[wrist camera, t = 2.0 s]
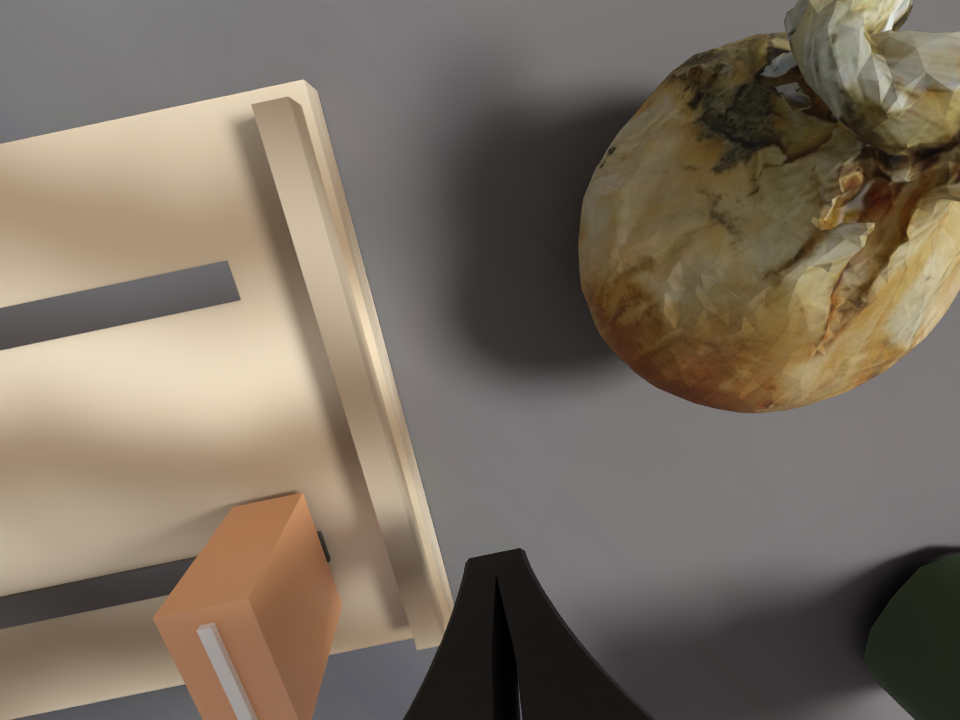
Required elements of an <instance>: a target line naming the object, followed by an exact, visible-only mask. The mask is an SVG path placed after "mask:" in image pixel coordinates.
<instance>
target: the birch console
mask: <svg viewBox="0 0 960 720" xmlns="http://www.w3.org/2000/svg"><path fill="white" fill-rule="evenodd" d="M298 493H303V494H304V497H305V500H306V503H307V506H308V509H309V511H310V514H311V517H312V520H313V523H314V526H315V529H316V531H317V534H318V537H319V540H320V543H321V546H322V549H323V551H324V554H325V557H326V560H327V563H328V566H329V569H330V571H331V574H332V577H333V580H334V583H335V586H336V589H337V591H338V594H339V597H340V600H341V603H342V610H341V613H340V617H339V621H338V624H337V628H336V632H335V635H334V639H333V643H332V646H331V650H330V654H329V655H331V654H336V653H341V652H346V651H351V650H356V649H361V648H366V647H371V646H375V645H380V644H385V643H390V642H395V641H400V640H405V639H410V638H414V641H415V645H416V648H417V650H420V649H425V648H430V647H435V646H439V645H440V643H441V640H442V638H443V636H444V632H445V630H446V628H447V625H448V622H449V619H450V616H451V614H452V611H453V598H452V594H451V591H450V587H449V583H448V579H447V576H446V572H445V568H444V564H443V561H442V557H441V553H440V549H439V546H438V542H437V538H436V534H435V531H434V527H433V523H432V519H431V516H430V512H429V508H428V504H427V501H426V497H425V493H424V489H423V486H422V482H421V478H420V474H419V471H418V467H417V463H416V459H415V456H414V452H413V448H412V445H411V441H410V437H409V433H408V430H407V426H406V422H405V418H404V415H403V411H402V407H401V403H400V400H399V396H398V392H397V388H396V385H395V381H394V377H393V373H392V370H391V366H390V362H389V358H388V355H387V351H386V347H385V343H384V340H383V336H382V332H381V328H380V325H379V321H378V317H377V313H376V310H375V306H374V302H373V298H372V295H371V291H370V287H369V283H368V280H367V276H366V272H365V268H364V265H363V261H362V257H361V253H360V250H359V246H358V242H357V238H356V235H355V231H354V227H353V223H352V220H351V216H350V212H349V209H348V205H347V201H346V197H345V194H344V190H343V186H342V182H341V179H340V175H339V171H338V167H337V164H336V160H335V156H334V152H333V149H332V145H331V141H330V137H329V134H328V130H327V126H326V122H325V119H324V115H323V111H322V107H321V104H320V100H319V96H318V92H317V90H315V89H314V88H313V87H312V86H311V85H310V84H308V83H307V82H306V81H305V80H299V81H294V82H290V83H285V84H280V85H276V86H271V87H266V88H261V89H257V90H252V91H247V92H243V93H238V94H233V95H229V96H224V97H219V98H214V99H210V100H205V101H200V102H196V103H191V104H186V105H182V106H177V107H172V108H167V109H163V110H158V111H153V112H149V113H144V114H139V115H135V116H130V117H125V118H121V119H116V120H111V121H106V122H102V123H97V124H92V125H88V126H83V127H78V128H74V129H69V130H64V131H59V132H55V133H50V134H45V135H41V136H36V137H31V138H27V139H22V140H17V141H12V142H8V143H3V144H0V720H11V719H16V718H21V717H25V716H30V715H35V714H40V713H45V712H50V711H55V710H60V709H65V708H70V707H75V706H80V705H85V704H90V703H94V702H99V701H104V700H109V699H114V698H119V697H124V696H129V695H134V694H139V693H144V692H149V691H154V690H159V689H163V688H168V687H173V686H178V685H183V684H185V683H184V681H183V679H182V677H181V675H180V673H179V671H178V669H177V667H176V665H175V663H174V661H173V659H172V657H171V655H170V653H169V650H168V648H167V646H166V644H165V642H164V640H163V638H162V636H161V634H160V632H159V630H158V628H157V626H156V624H155V622H154V620H153V617H154V615H155V614H156V613H157V611H158V610H159V608H160V607H161V606H162V604H163V603H164V602H165V600H166V599H167V597H168V596H169V595H170V593H171V592H172V590H173V589H174V588H175V586H176V585H177V584H178V582H179V581H180V579H181V578H182V577H183V575H184V574H185V573H186V571H187V570H188V568H189V567H190V566H191V564H192V563H193V562H194V560H195V559H196V557H197V556H198V555H199V553H200V552H201V550H202V549H203V548H204V546H205V545H206V544H207V542H208V541H209V539H210V538H211V537H212V535H213V534H214V533H215V531H216V530H217V528H218V527H219V526H220V524H221V523H222V522H223V520H224V519H225V517H226V516H227V515H228V513H229V512H230V511H231V509H232V508H233V507H235V506H240V505H245V504H250V503H255V502H259V501H264V500H269V499H274V498H279V497H284V496H289V495H294V494H298Z"/></svg>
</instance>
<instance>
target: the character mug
mask: <svg viewBox="0 0 960 720" xmlns="http://www.w3.org/2000/svg"><path fill="white" fill-rule="evenodd" d="M864 660H865V662H866V664H867V666H868V668H869V670H870V673H871V675H872V677H873V679H874V680H875V681H876V682H877V683H878V684H879V685H880V686H881V687H882V688H883V689H884V690H885V691H886V692H887V693H888V694H889V695H890V696H891V697H892V698H893V699H894V700H895V701H896V702H897V703H898V704H899V705H900V706H901V707H902V708H903V709H905V710H906V711H907V712H908V713H909V714H910V715H911V716H912V717H913V718H914V719H915V720H960V553H958V554H955V555H953V556H950V557H947V558H944V559H941V560H938V561H935V562H933V563H930V564H927V565H924V566H921V567H920V568H919V569H918V570H917V571H916V572H915V573H914V574H913V575H912V576H911V577H910V578H909V580H908V581H907V582H906V583H905V584H904V585H903V586H902V587H901V588H900V589H899V590H898V591H897V593H896V594H895V595H894V596H893V597H892V598H891V599H890V601H889V602H888V604H887V605H886V607H885V608H884V610H883V611H882V613H881V614H880V616H879V617H878V619H877V620H876V622H875V623H874V625H873V626H872V628H871V629H870V633H869V637H868V641H867V645H866V650H865V654H864Z"/></svg>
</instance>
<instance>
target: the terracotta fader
mask: <svg viewBox="0 0 960 720" xmlns="http://www.w3.org/2000/svg"><path fill="white" fill-rule="evenodd" d="M341 610H342V603H341V600H340V597H339V594H338V591H337V589H336V586H335V583H334V580H333V577H332V574H331V571H330V569H329V566H328V563H327V560H326V557H325V554H324V551H323V549H322V546H321V543H320V540H319V537H318V534H317V531H316V529H315V526H314V523H313V520H312V517H311V514H310V511H309V509H308V506H307V503H306V500H305V497H304V494H303V493H298V494H294V495H289V496H284V497H279V498H274V499H269V500H264V501H259V502H255V503H250V504H245V505H240V506H235V507H233V508H232V509H231V511H230V512H229V513H228V515H227V516H226V517H225V519H224V520H223V522H222V523H221V524H220V526H219V527H218V528H217V530H216V531H215V533H214V534H213V535H212V537H211V538H210V539H209V541H208V542H207V544H206V545H205V546H204V548H203V549H202V550H201V552H200V553H199V555H198V556H197V557H196V559H195V560H194V562H193V563H192V564H191V566H190V567H189V568H188V570H187V571H186V573H185V574H184V575H183V577H182V578H181V579H180V581H179V582H178V584H177V585H176V586H175V588H174V589H173V590H172V592H171V593H170V595H169V596H168V597H167V599H166V600H165V602H164V603H163V604H162V606H161V607H160V608H159V610H158V611H157V613H156V614H155V615H154V617H153V620H154V622H155V624H156V626H157V628H158V630H159V632H160V634H161V636H162V638H163V640H164V642H165V644H166V646H167V648H168V650H169V653H170V655H171V657H172V659H173V661H174V663H175V665H176V667H177V669H178V671H179V673H180V675H181V677H182V679H183V681H184V683H185V685H186V687H187V689H188V691H189V693H190V695H191V697H192V699H193V701H194V703H195V705H196V707H197V709H198V711H199V713H200V715H201V717H202V719H203V720H311V719H312V716H313V712H314V708H315V705H316V701H317V697H318V694H319V690H320V686H321V683H322V679H323V675H324V672H325V668H326V665H327V661H328V657H329V654H330V650H331V646H332V643H333V639H334V635H335V632H336V628H337V624H338V621H339V617H340V613H341Z"/></svg>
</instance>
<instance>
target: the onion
mask: <svg viewBox="0 0 960 720" xmlns="http://www.w3.org/2000/svg"><path fill="white" fill-rule="evenodd" d="M912 5H913V0H798V2H797V4H796V5H795V7H794V8H792V9H791V10H790V11H788V12H787V13H786V17H785V20H784V24H785V28H786V32H780V33H772V34H756V35H753V36H750V37H747V38H744V39H741V40H739V41H736V42H733V43H730V44H727V45H724V46H722V47H719V48H715V49H712V50H709V51H706V52H702V53H698V54H695V55H693V56H692V57H691V58H689V59H688V60H687V61H686V62H684V63H683V64H682V65H680V66H679V67H678V68H676V69H675V70H674V71H672V72H671V73H670V74H669V75H668V76H667V77H666V79H665V80H664V81H663V82H662V83H661V84H660V85H659V86H658V87H657V88H656V89H655V91H654V92H653V93H652V94H651V95H650V97H649V98H648V99H647V100H646V101H645V103H644V104H643V105H642V106H641V107H640V109H639V110H638V111H637V112H636V113H635V115H634V116H633V117H632V118H631V119H630V120H629V121H628V122H627V123H626V125H625V126H624V127H623V128H622V129H621V130H620V131H619V132H618V134H617V135H616V137H615V138H614V140H613V141H612V143H611V144H610V146H609V147H608V149H607V150H606V153H605V155H604V156H603V158H602V159H601V161H600V162H599V164H598V166H597V167H596V169H595V171H594V173H593V176H592V178H591V181H590V183H589V186H588V188H587V191H586V193H585V196H584V198H583V204H582V210H581V220H580V232H579V242H578V250H579V271H580V281H581V289H582V291H583V294H584V297H585V299H586V302H587V304H588V307H589V310H590V312H591V315H592V318H593V321H594V323H595V326H596V328H597V330H598V332H599V333H600V335H601V336H602V338H603V340H604V341H605V342H606V343H607V344H608V345H609V347H610V348H611V349H612V350H613V351H614V352H615V354H616V355H617V356H618V357H619V358H621V359H622V360H623V361H624V362H625V363H626V364H627V365H628V366H629V367H630V368H631V369H632V370H633V371H634V372H635V373H637V374H638V375H639V376H641V377H642V378H643V379H645V380H646V381H647V382H649V383H650V384H652V385H653V386H655V387H657V388H659V389H661V390H664V391H666V392H668V393H670V394H673V395H675V396H678V397H680V398H683V399H685V400H688V401H690V402H693V403H696V404H700V405H704V406H708V407H711V408H716V409H721V410H727V411H733V412H740V413H766V412H774V411H785V410H789V409H794V408H798V407H802V406H806V405H809V404H812V403H815V402H818V401H821V400H824V399H828V398H831V397H834V396H837V395H839V394H842V393H844V392H847V391H849V390H851V389H853V388H855V387H857V386H859V385H861V384H862V383H864V382H866V381H868V380H870V379H871V378H873V377H875V376H877V375H879V374H881V373H882V372H884V371H886V370H888V369H889V368H890V367H891V366H893V365H894V364H895V363H896V362H898V361H899V360H900V359H901V358H902V357H904V356H905V355H906V354H907V353H909V352H910V351H911V350H912V349H913V348H914V347H915V346H916V345H918V344H919V343H920V342H921V341H922V340H923V339H924V338H926V336H927V335H928V334H929V333H930V332H931V330H932V329H933V328H934V327H935V325H936V324H937V323H938V322H939V321H940V319H941V318H942V317H943V316H944V314H945V313H946V311H947V310H948V308H949V306H950V305H951V303H952V301H953V300H954V298H955V296H956V295H957V293H958V292H959V290H960V32H948V33H926V32H918V31H898V30H899V29H900V27H901V26H902V25H903V24H904V23H905V21H906V20H907V19H908V16H909V14H910V12H911V9H912ZM897 31H898V32H897Z"/></svg>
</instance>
